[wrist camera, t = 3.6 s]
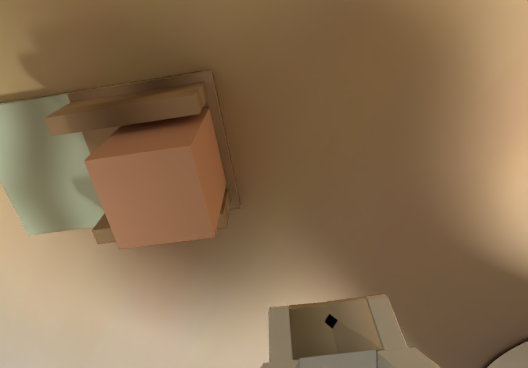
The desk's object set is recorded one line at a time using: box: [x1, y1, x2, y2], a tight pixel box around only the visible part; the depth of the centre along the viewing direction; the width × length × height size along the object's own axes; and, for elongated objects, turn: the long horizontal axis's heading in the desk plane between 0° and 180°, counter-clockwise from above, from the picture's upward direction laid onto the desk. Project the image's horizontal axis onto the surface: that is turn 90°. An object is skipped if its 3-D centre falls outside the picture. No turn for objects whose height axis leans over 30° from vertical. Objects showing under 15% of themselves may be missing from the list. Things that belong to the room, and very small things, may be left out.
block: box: [84, 108, 226, 249], centre depth 21 cm, size 5×5×6 cm
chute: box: [0, 70, 240, 244], centre depth 23 cm, size 15×9×4 cm, turn 99°
